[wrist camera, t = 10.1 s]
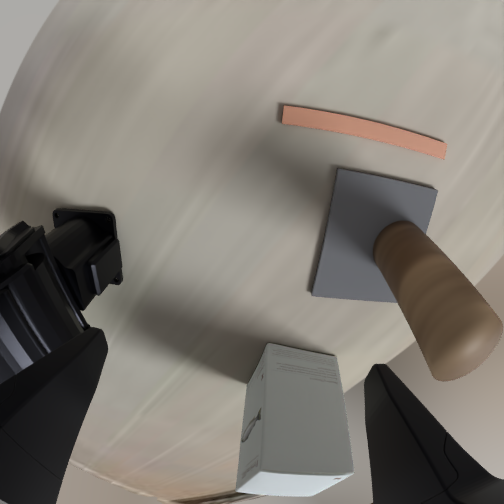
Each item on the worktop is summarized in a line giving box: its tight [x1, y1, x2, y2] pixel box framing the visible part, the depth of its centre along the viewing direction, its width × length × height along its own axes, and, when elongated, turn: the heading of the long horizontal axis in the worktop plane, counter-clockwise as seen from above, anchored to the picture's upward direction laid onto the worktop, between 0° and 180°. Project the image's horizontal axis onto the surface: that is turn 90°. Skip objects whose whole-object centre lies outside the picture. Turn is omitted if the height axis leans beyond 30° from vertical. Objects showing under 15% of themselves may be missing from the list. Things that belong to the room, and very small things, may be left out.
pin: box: [373, 221, 503, 381], centre depth 15 cm, size 4×4×11 cm
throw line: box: [282, 106, 447, 159], centre depth 17 cm, size 12×1×1 cm, turn 85°
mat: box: [311, 168, 438, 303], centre depth 20 cm, size 8×10×1 cm
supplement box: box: [235, 343, 354, 496], centre depth 22 cm, size 7×7×13 cm
